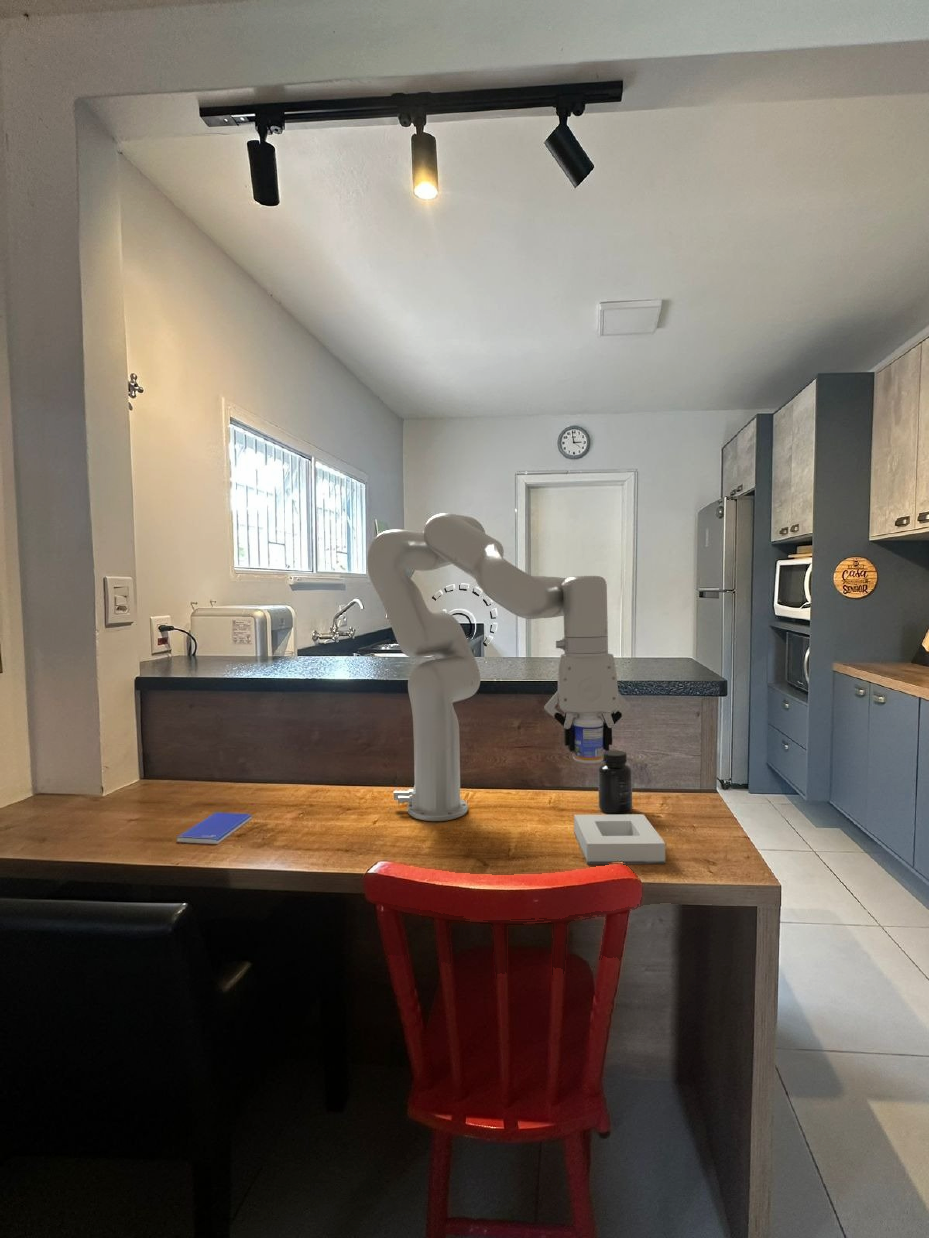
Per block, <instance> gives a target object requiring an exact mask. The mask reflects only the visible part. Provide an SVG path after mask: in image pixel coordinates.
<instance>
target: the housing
mask: <svg viewBox="0 0 929 1238" xmlns="http://www.w3.org/2000/svg"><path fill="white" fill-rule="evenodd" d="M573 834H574V836H575V838H576V841H577V843H578V846H579V849H580V851H581V853H582V855H583V858H584V859H585V863H586V865H609V864H608V863H612V862H623V863H625V864H624V865H665V864H666V843H665V841H664V840H663V838H662V837H661V835H660V834H659V833H658V832H657V830H656V829H655V828H654V826H653V825H652V823H651V822H650V821H649V820H648V819H647V817H646V816H645V814H644V813H643V814H637V813H636V814H633V813H632V814H629V813H628V814H623V815H613V814H574V815H573Z"/></svg>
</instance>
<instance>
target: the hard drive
mask: <svg viewBox="0 0 929 1238" xmlns="http://www.w3.org/2000/svg"><path fill="white" fill-rule="evenodd" d="M250 820H252V814H250V813H240V812H239V813H234V812H214V813H213V814H211V815H210V816H208V817H206V818H205V819H203V820H202V821H200V822H199V823H197V824H195V825H193V826H192V827H191V828H189V829H187V831H185V832H183V833H181V834H180V835H178V836H177V838H176V839H177V840H176V842H177V843H195V844H211V845H212V844H213V845H219V844H220V843H221V842H223V841H224V840H225V839H227V838H228V837H229V836H230V835H232V834H233V833H235V831H238V830H239V829H240V828H242V826H243V825H245V824H247V823H248V822H249V821H250Z"/></svg>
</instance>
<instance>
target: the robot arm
mask: <svg viewBox="0 0 929 1238" xmlns="http://www.w3.org/2000/svg"><path fill="white" fill-rule="evenodd" d="M366 557H367V558H366V560H367V561H366V564H367V565H366V567H367V571H368V575H369V579H370V581H371V583H372V585H373V587H374V589H375V591H376V593H377V595H378V597H379V599H380V601H381V603H382V605H383V609H384V610H385V614H386V617H387V619H388V621H389V624H390V627H391V629H392V632H393V635H394V637H395V640H396V642H397V645H398V646H399V648H400V651H401V652H402V653H403V654H404V656H406V657H409V658H415V659H416V658H417V659H420V658H426V657H432V656H433V657H434V659H431V660H426V661H423V662H422V663H420V664H418V665H417V666H415V667H414V668H413V670H412V671H411V672H410V673H409V677H408V680H407V691H408V696H409V701H410V706H411V712H412V724H413V725H412V728H413V729H412V730H413V731H412V732H413V764H414V765H413V767H414V768H413V769H414V770H413V771H414V785H413V788H410V789H408V790H393V801H397V803H398V804H405V803H408V804H407V814H409V816H411V817H412V818H414V819H417V820H420V821H426V822H428V821H429V822H443V821H445V822H446V821H451V820H454V819H458V818H460V817H462V816H464V815H466V814H467V812H468V809H469V808H468V807H469V805H468V802H467V801H466V800H465V799H463V798H461V762H460V761H461V759H460V758H461V757H460V756H461V754H460V753H461V751H460V748H461V746H460V724H459V719H458V715H457V713H456V711H455V707H454V705H453V703H455V702H456V703H457V702H459V701H463V700H466V699H468V698H471V697H472V696H473V695H475V694H476V693H477V692H478V690H479V688H480V685H481V673H480V669H479V665H478V662H477V660H476V658H475V656H474V653H473V650H472V649H471V646H470V643H469V640H468V639H467V636H466V634H465V631H464V629H463V627H462V625H461V624H460V622H459V621H458V620H457V619H456V617H454V616H453V615H452V614H450V613H447V612H443V611H430V610H429V608H428V607H427V604H426V602H425V600H424V597H423V594H422V591H420V589H419V587H418V586H417V584H416V583H415V581H413V579H411V577H410V576H409V575H408V574H407V571H420V572H422V571H423V572H424V571H426V572H427V571H434V570H437V569H441V568H443V567H447V566H450V565H453V566H455V567H456V568H457V569H459V570H461V571H463V572H464V573H465V574H467V575H469V576H470V577H472V578H473V579H474V580H475V582H476V584H477V585H478V587H479V588H480V590H481V591H482V593H484V594H485V595H486V597H488V598H489V599H491V600H492V601H493V602H495V603H496V604H497V605H499V606H500V607H502V608H503V609H505V610H507V611H508V612H510V613H512V614H513V615H515V616H517V617H519V618H521V619H526V620H538V619H551V618H558V617H563V638H562V639H560V640H555V649H560V650H562V651H563V652H564V654H563V653H562V654H560V659H559V663H558V664H559V665H558V673H557V691H556V692H555V693H554V694H553V695H552V697H550V699H549V700H548V701H547V702H546V703H545V705H544V711H545V712H546V713H548V714H549V715H550V716H552V717H553V718H554V719H555V720H556V721H557V722H559V723H560V725H561V726H562V727H563V732H564V733H563V739H564V741H563V742H564V746H565V747H567V748H568V750H569V752H572V753H573V751H574V729H573V728H572V720H573V718H574V717H575V715H576V714H578V713H599V714H601V718H602V719H603V749H604V751H609V750H610V746H612V745H613V728H614V726H615V724H617V722H618V721H620V720H621V718H622V717H623V716H624V715H625V714H626V713H627V712H629V710H631V708H632V705H631V704H630V703H629V702H628V701H627V700H626V698H625V697H624V696H623V695H622V694H621V693H620V692H619V687H618V675H617V669H616V663H615V657H614V654H612V653H609V632H608V630H609V629H608V628H609V627H608V623H609V622H608V586H607V585H608V584H607V582H606V580H605V579H606V578H604V577H603V576H600V575H577V576H575V575H574V576H569V577H561V576H560V577H558V576H544V575H543V576H542V575H538V576H537V575H535V576H533V575H532V574H529V573H526V571H523V570H522V569H520V568H519V567H517V566H515V565H513V564H512V563H511V562H509V561H508V560H506V558H504V546H503V545H502V543H501V542H500V541H499V540H497V539H495V538H494V537H492V536H490V535H488V534H486V531H485V528H484V527H483V525H482V524H481V522H480V521H478V520H477V519H475V518H473V517H471V516H468V515H463V514H462V515H461V514H454V513H448V512H445V513H444V512H443V513H442V512H441V513H438V514H435V515H433V516H431V518H429V519H428V520H427V522H426V523H425V525H424V527H423V531H416V530H408V529H389V530H385V531H383V532H380V533H379V534H378V535H376V536H375V537H374V538H373V540H372V541H371V543H370V545H369V547H368V552H367V556H366ZM556 705H558V707H559V709H560V710H561V711H562V712H564V713H563V714H562V713H561V712H560V711H558V710H557V709H556Z"/></svg>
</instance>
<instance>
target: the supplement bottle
mask: <svg viewBox="0 0 929 1238" xmlns="http://www.w3.org/2000/svg"><path fill="white" fill-rule="evenodd" d="M627 758H628V757H627V752H626V751H624V750H615V749H609V751H606V750H604V758H603V760H602V762H603V763H601V765H599V767H598V771H597V776H598V777H597V781H598V782H597V783H598V809H599V810H600V811H601V812H602V813H605V814H607V815H628V814H629V813H631V812H632V810H633V771H632V769H631V767H630V766H629V765H628V764H627V762H628V759H627Z"/></svg>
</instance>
